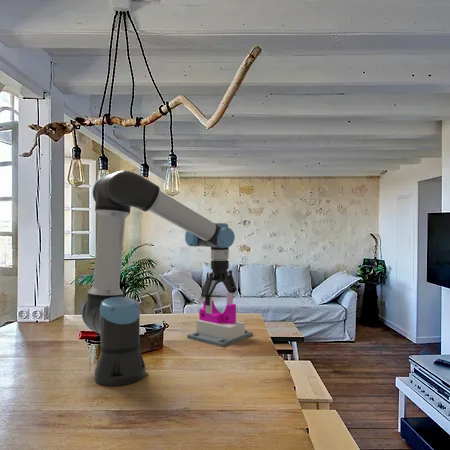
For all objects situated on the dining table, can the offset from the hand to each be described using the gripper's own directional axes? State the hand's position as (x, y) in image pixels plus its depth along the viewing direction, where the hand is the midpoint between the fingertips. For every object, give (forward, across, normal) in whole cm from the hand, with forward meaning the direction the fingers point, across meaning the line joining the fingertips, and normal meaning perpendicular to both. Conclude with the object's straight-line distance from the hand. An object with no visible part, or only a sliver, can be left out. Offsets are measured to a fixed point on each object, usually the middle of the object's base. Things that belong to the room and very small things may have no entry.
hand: (219, 310), depth 156 cm
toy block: (+5, 0, +2) cm, 5 cm away
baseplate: (+11, 0, 0) cm, 11 cm away
